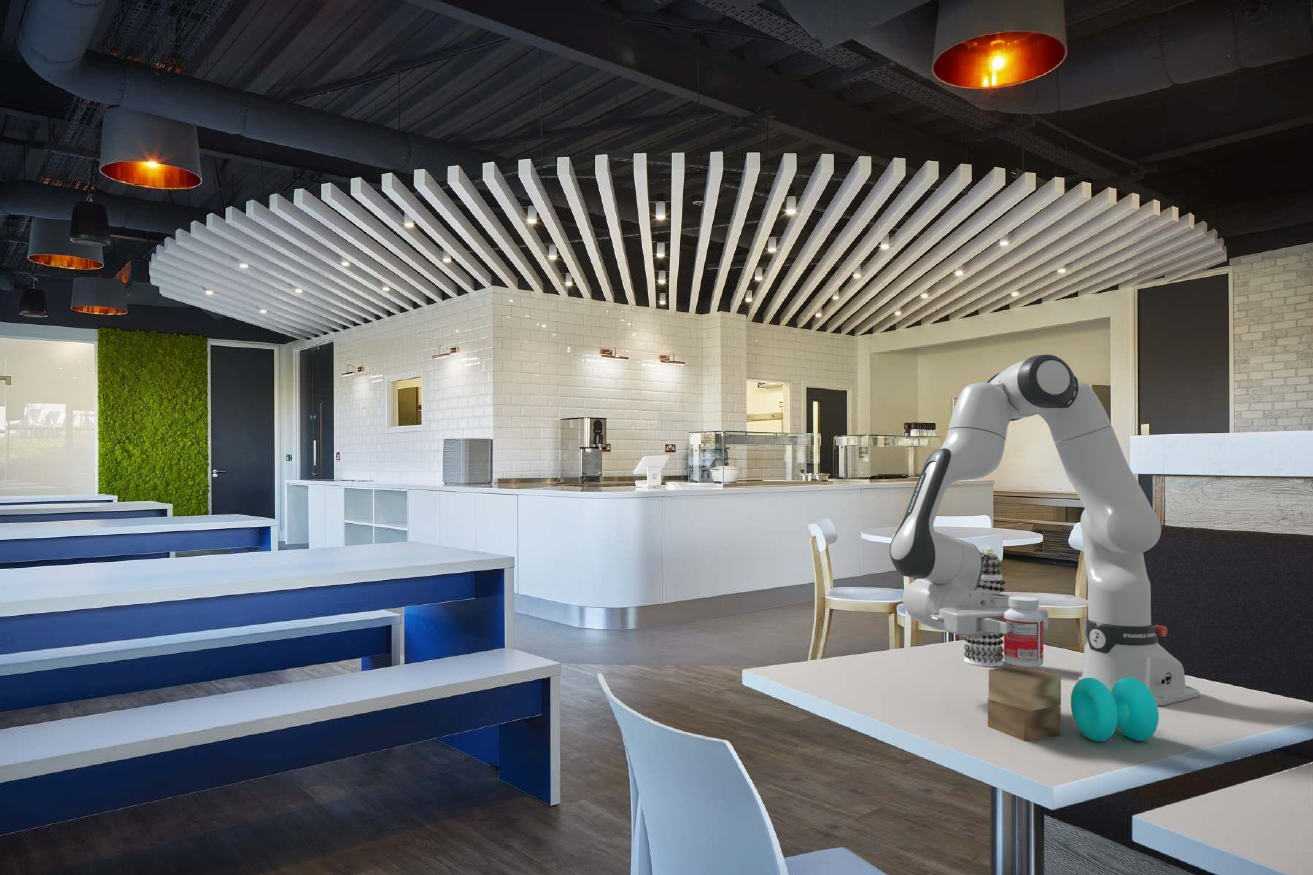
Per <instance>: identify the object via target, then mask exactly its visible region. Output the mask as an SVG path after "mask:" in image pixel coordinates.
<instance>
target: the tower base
mask: <svg viewBox="0 0 1313 875" xmlns="http://www.w3.org/2000/svg"><path fill="white" fill-rule="evenodd" d="M1061 706H1062V705H1060V706H1055V707H1050V708H1045V709H1039V710H1034V711H1026V710H1023V709H1020V708H1016V707H1013V706H1010V705H1006V704H1003V703H1000V702H996V701H993V700H990V699H989V697H988V698H987V727H988V728H990V729H993V730H995V731H997V732H1000V733H1003V734H1006V735H1008V736H1009V737H1013V738H1016V739H1018V740H1020V741H1023V742H1027V741H1032V740H1033V741H1034V740H1042V739H1047V738H1049V739H1050V738H1056V737H1061V736H1062V734H1061V733H1062V732H1061V731H1062V729H1061V728H1062V727H1061V726H1062V725H1061V724H1062V722H1061V720H1062V718H1061V714H1062V713H1061V709H1062V708H1061Z"/></svg>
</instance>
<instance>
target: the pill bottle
mask: <svg viewBox="0 0 1313 875" xmlns="http://www.w3.org/2000/svg"><path fill="white" fill-rule="evenodd" d="M1039 602H1040V601H1039V599H1038V598H1036V597H1031V596H1023V595H1022V596H1021V595H1014V596H1012V595H1011V597H1009V606H1010V609H1009V610H1007V611H1006V612H1005V613H1004V621H1006V622H1009V623H1012V624H1013V628H1012V629H1013V633H1009V634H1003V635H1004V636H1003V649H1004V652H1003V657H1004V658H1003V659H1004V662H1005V663H1007V664H1008V665H1012V666H1021V667H1029V668H1037V667H1041V666H1042V665H1044V631H1043V616H1042V614H1041V613H1039V612H1038V611H1037V608H1038V606H1039Z"/></svg>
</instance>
